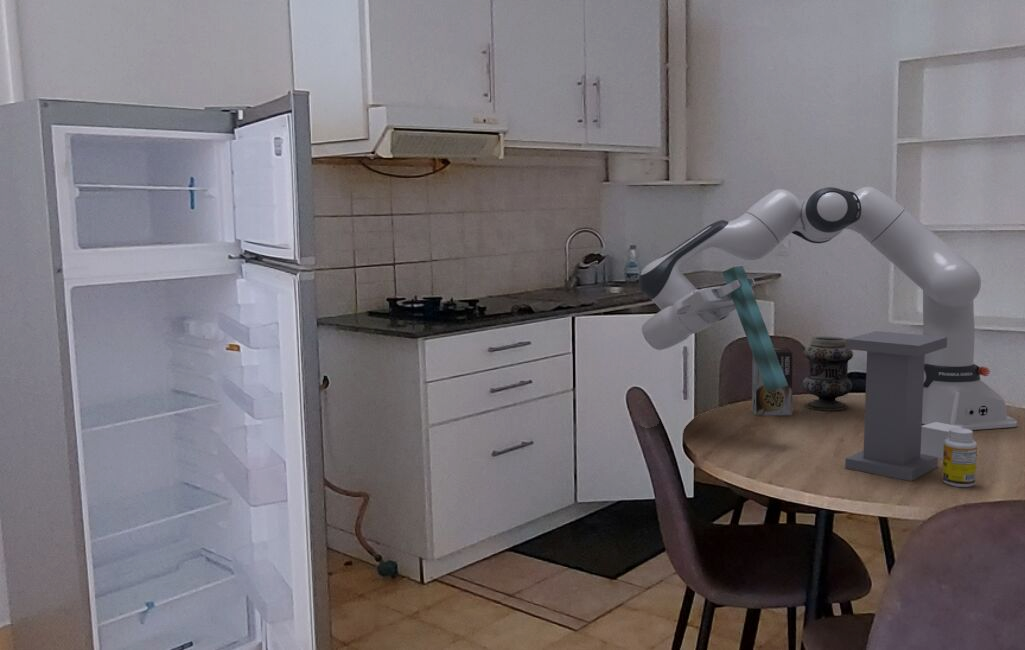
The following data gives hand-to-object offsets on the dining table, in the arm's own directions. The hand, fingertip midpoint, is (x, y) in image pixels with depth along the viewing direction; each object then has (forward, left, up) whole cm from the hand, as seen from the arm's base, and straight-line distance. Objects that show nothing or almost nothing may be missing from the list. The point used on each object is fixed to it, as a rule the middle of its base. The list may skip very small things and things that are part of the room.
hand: (746, 282), depth 201 cm
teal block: (-1, +1, -11) cm, 11 cm away
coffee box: (-13, -26, -36) cm, 46 cm away
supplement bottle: (-31, +34, -36) cm, 59 cm away
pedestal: (-23, +23, -35) cm, 49 cm away
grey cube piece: (-37, +14, -36) cm, 54 cm away
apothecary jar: (-29, -32, -36) cm, 56 cm away
